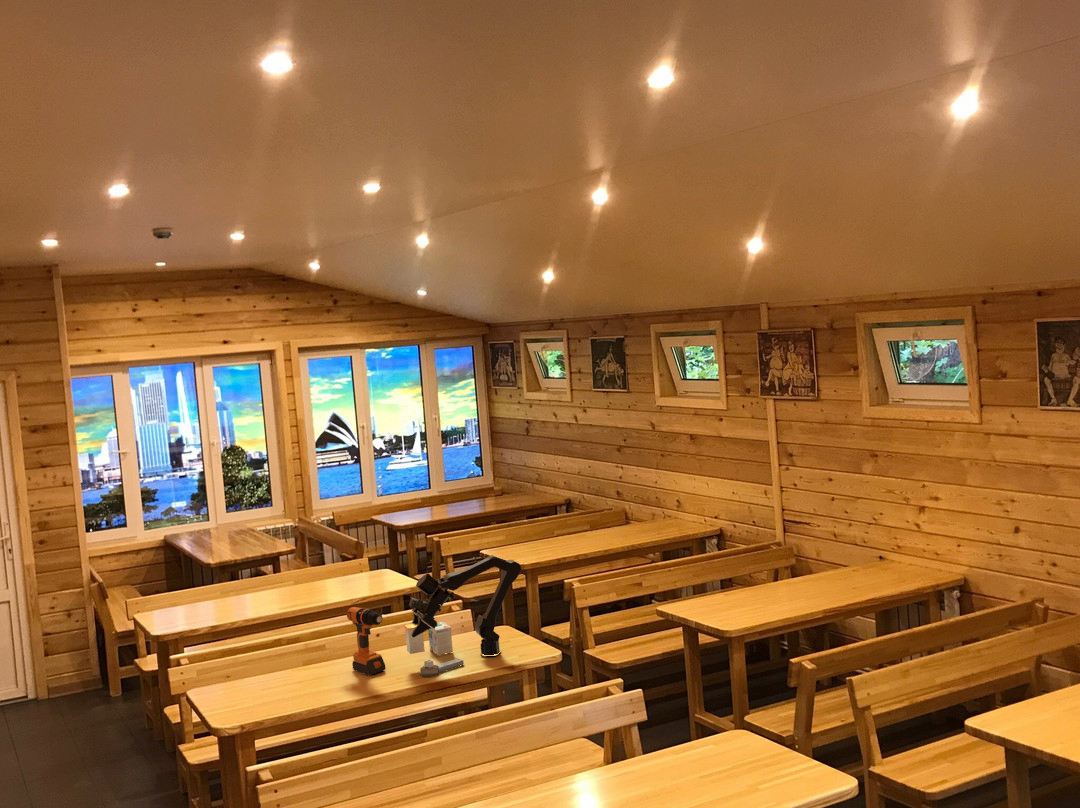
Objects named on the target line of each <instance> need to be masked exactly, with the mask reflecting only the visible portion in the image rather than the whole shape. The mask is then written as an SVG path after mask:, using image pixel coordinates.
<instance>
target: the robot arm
mask: <svg viewBox="0 0 1080 808" xmlns="http://www.w3.org/2000/svg"><path fill="white" fill-rule="evenodd" d="M492 568H497V569H499V570H501V571H500V579H499V582H498V585H497V586H496V588H495V591H494V593H493V595H492V598H491V600H490V602H489V604H488V606H487V609H486V611H485V612H484V613H483V614H482V615H481V614H479V615H478V616H477V619H476V621H475V622H474V623H473V624H474V625H475V626H474V631H475V632H476V634H477V635H478V636H480V638H481V640H480V641H481V643H480V645H479V646H480V654H481V655H482V654H484V655H494V654H498V653H499V652H500V651H501V649H500V641H499V640H500V638H501V637H500V635H499V634H498V633H497V632H495V627H496V619H497V615H498V613H499V611H500V609H501V607H502V605H503V602H504V600H505V598H506V596H507V593H508V591H509V589H510V587H511V585H512V584H513V583H514V582H515V581H516V580H517V579H518V578H519V577H518V576H519V575H520V574H521V572H522V565H521V564H520V563H519V562H517V561H515V560H514V559H507V560H506V559H503V558H500V557H497V556H495V555H489V556H488V557H486V558H484V559H483V560H480V561H478V562H476V563H474V564H472V565H470V566H468V567H466V568H464V569H461V570H457V571H452V572H449V573H447V574H445V575H444V576H443V577H441V578H437V579H436V578H434V577H432V575H431V574H430V573H428V572H426V573H425V574H424V575H423V576H421V577H420V578H419V579H418V581H417V582H416V584H415V587H416V588H417V589H419V590H420V591H422V593H424V594H425V595H427V596H429V595H431V596H430V597H429V598H426V599H424V600H423V599H420V598H415V597H410V601H409V602H408V603H409V604H408V607H410V608H412V609H411V611H412V617H413V619H412V622H411V624H414V623H418V625H417V627H416V629H415V630H414V632H413V634H412V637H416V636H417V635H419V634H421V633H423V634H424V632H426V631H428V630H429V629H431V627H432V628H434V629H435V627H436V626H437V623H438V621H437V620H435V616H436V614H437V613H438V612H441V611H442V607H443V605H444V604H445V603H446V601H448V599H449V598H450V599H451V600H455V597H454V591H457V590H458V589H459V588H462V586H463V585H464V584H465V583H466V582H467V581H469V580H471V579H472V578H474V577H476V576H479V575H480V574H484V572H486V571H489V570H490V569H492ZM439 586H440V587H439ZM430 626H431V627H430Z"/></svg>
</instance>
